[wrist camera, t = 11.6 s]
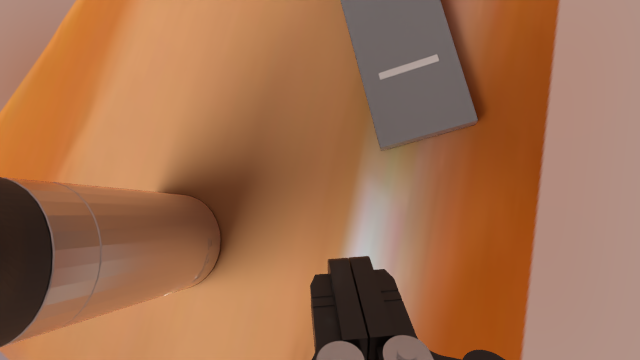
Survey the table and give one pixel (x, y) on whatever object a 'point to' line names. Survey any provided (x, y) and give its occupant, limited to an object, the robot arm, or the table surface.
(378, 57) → the fader panel
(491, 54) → the table surface
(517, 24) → the table surface
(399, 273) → the table surface
